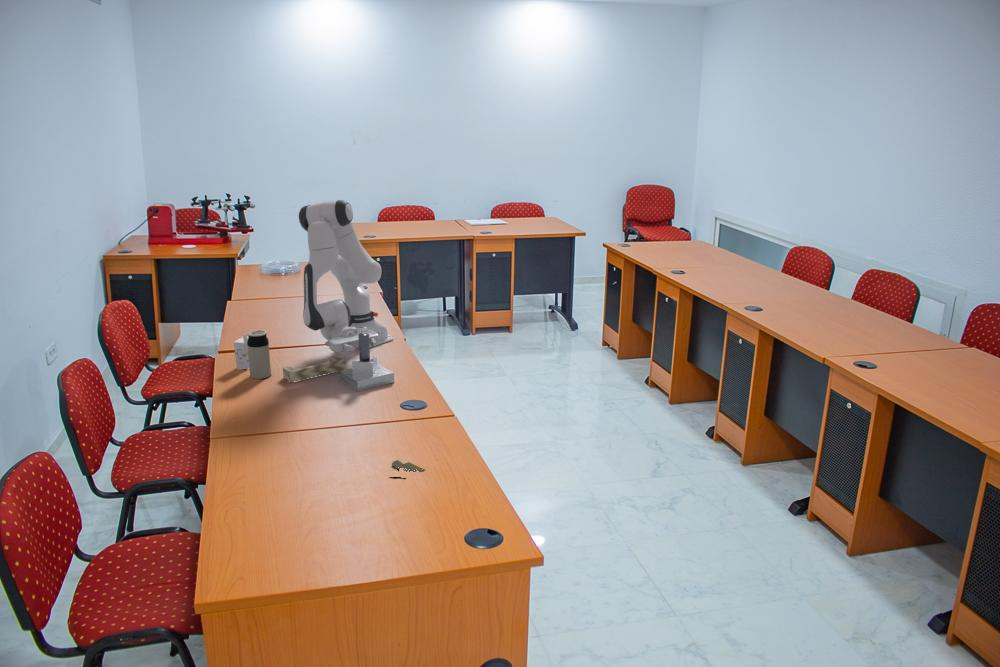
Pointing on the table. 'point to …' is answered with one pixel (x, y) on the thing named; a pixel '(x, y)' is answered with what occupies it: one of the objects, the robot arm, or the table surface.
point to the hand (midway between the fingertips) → (364, 346)
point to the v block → (366, 375)
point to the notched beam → (314, 369)
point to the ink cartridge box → (242, 352)
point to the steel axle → (364, 347)
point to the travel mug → (258, 354)
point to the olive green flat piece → (407, 466)
